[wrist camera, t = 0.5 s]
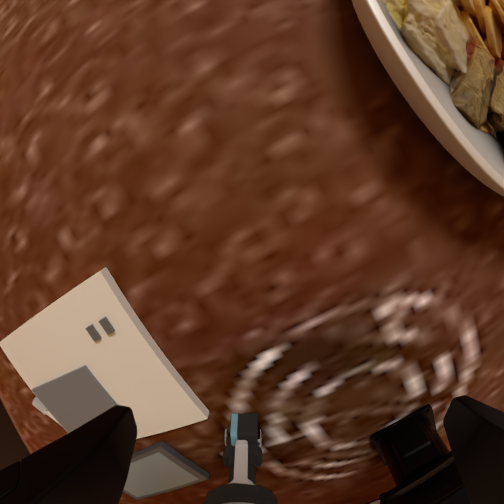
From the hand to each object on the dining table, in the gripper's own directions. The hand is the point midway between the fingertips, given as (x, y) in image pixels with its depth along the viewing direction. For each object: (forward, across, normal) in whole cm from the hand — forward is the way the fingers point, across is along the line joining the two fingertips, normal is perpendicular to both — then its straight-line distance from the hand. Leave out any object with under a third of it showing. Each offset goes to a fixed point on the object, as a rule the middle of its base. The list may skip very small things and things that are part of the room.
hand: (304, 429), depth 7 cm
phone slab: (+14, +12, +23) cm, 29 cm away
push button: (+14, +2, +15) cm, 21 cm away
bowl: (+14, -19, -21) cm, 32 cm away
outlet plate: (+14, +15, +10) cm, 23 cm away
